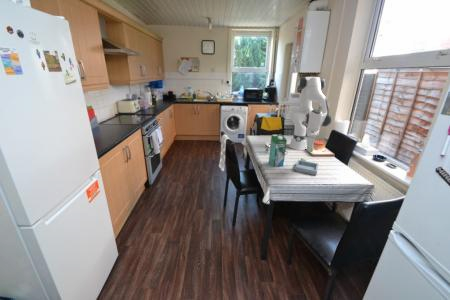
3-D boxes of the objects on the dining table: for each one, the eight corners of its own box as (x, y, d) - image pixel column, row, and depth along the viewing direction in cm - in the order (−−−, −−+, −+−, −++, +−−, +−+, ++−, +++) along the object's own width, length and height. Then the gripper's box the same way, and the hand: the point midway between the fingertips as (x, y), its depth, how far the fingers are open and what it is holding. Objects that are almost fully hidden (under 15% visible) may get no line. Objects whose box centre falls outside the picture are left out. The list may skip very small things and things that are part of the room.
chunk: (300, 161, 180) (301, 157, 178) (305, 162, 178) (306, 158, 176) (299, 163, 176) (300, 159, 175) (305, 164, 174) (306, 160, 173)
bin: (297, 163, 176) (298, 159, 175) (317, 167, 169) (318, 163, 168) (294, 170, 163) (295, 166, 161) (316, 175, 156) (317, 171, 155)
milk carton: (273, 167, 168) (277, 137, 159) (268, 162, 176) (271, 134, 167) (283, 166, 170) (287, 137, 162) (277, 161, 179) (281, 133, 170)
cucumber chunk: (306, 149, 163) (307, 143, 161) (312, 150, 161) (313, 144, 160) (306, 151, 159) (307, 145, 158) (312, 152, 158) (313, 146, 156)
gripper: (309, 128, 165) (307, 144, 170) (307, 134, 148) (303, 152, 153) (318, 129, 162) (315, 145, 167) (316, 135, 145) (313, 154, 150)
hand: (309, 149), depth 160 cm, fingers closed on cucumber chunk, 4 cm apart
